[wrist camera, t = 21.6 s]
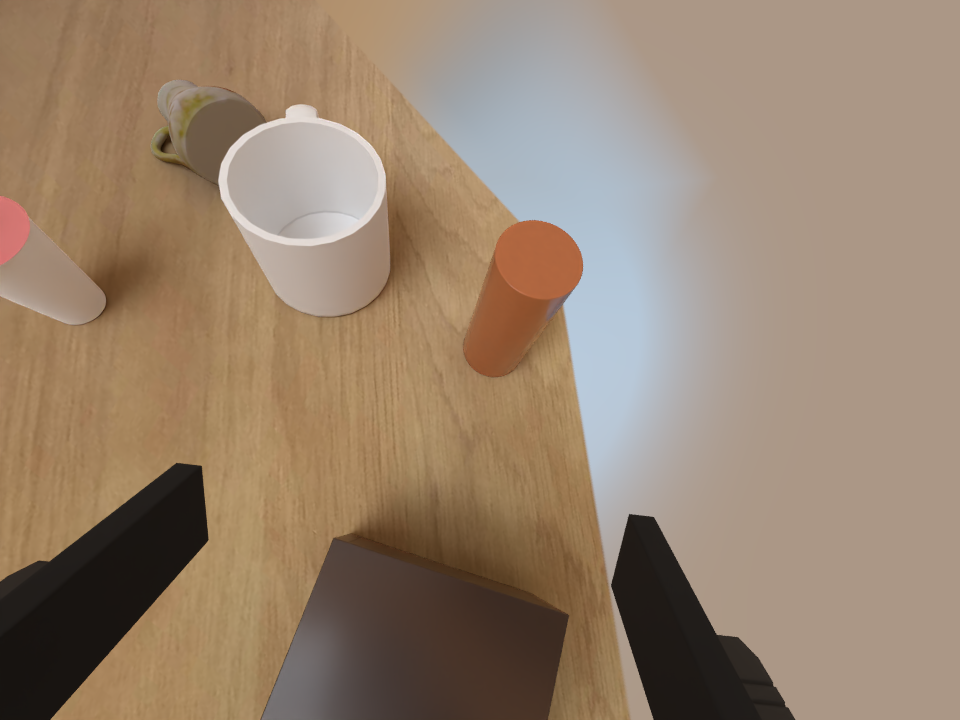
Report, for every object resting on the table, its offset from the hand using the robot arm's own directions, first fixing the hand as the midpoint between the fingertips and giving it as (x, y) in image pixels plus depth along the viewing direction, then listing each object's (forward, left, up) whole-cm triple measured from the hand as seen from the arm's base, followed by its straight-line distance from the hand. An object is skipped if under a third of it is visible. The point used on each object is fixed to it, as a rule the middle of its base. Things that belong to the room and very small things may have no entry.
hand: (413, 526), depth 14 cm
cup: (+29, +5, -20) cm, 35 cm away
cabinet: (-7, +8, -20) cm, 22 cm away
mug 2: (+20, -11, -20) cm, 30 cm away
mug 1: (+34, -11, -20) cm, 41 cm away
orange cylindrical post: (+4, -14, -20) cm, 25 cm away
